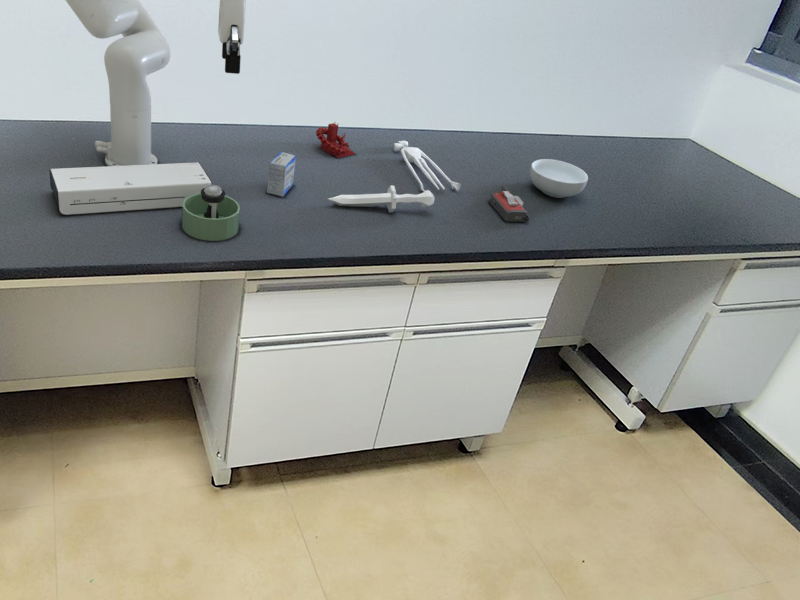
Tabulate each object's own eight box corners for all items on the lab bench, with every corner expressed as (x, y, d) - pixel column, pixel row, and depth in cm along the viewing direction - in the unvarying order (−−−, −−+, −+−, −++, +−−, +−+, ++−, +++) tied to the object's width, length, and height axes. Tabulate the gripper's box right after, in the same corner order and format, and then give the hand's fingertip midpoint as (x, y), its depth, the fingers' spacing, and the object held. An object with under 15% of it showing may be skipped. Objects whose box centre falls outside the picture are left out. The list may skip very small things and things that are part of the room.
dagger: (327, 208, 192) (437, 204, 195) (325, 185, 193) (436, 181, 196) (326, 217, 199) (433, 213, 203) (325, 194, 200) (431, 190, 204)
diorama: (353, 161, 221) (357, 134, 217) (311, 154, 220) (315, 126, 216) (355, 147, 230) (360, 120, 226) (316, 140, 229) (319, 113, 225)
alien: (413, 146, 239) (417, 131, 236) (458, 201, 217) (463, 185, 214) (378, 146, 234) (382, 131, 231) (420, 202, 212) (425, 186, 209)
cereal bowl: (567, 181, 238) (574, 160, 234) (590, 206, 225) (597, 184, 221) (517, 177, 233) (523, 156, 230) (537, 203, 220) (544, 181, 216)
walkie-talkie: (534, 224, 209) (504, 190, 224) (539, 210, 206) (508, 176, 222) (506, 224, 206) (477, 189, 221) (510, 209, 203) (481, 175, 218)
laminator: (58, 216, 169) (56, 191, 166) (50, 190, 177) (48, 166, 174) (211, 205, 185) (212, 182, 182) (196, 182, 194) (197, 159, 190)
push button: (195, 219, 178) (196, 180, 173) (218, 218, 180) (220, 179, 175) (202, 234, 173) (204, 194, 168) (225, 232, 176) (228, 193, 170)
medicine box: (283, 197, 195) (286, 166, 190) (266, 193, 196) (269, 162, 191) (293, 185, 202) (296, 155, 197) (276, 181, 202) (279, 150, 197)
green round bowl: (175, 235, 171) (175, 213, 168) (190, 209, 182) (190, 188, 179) (231, 244, 172) (233, 223, 169) (243, 219, 183) (244, 198, 180)
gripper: (213, -25, 171) (211, 52, 180) (218, -5, 157) (215, 77, 166) (248, -21, 173) (244, 55, 182) (255, -1, 159) (251, 80, 169)
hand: (230, 65), depth 174 cm, fingers open, 9 cm apart
